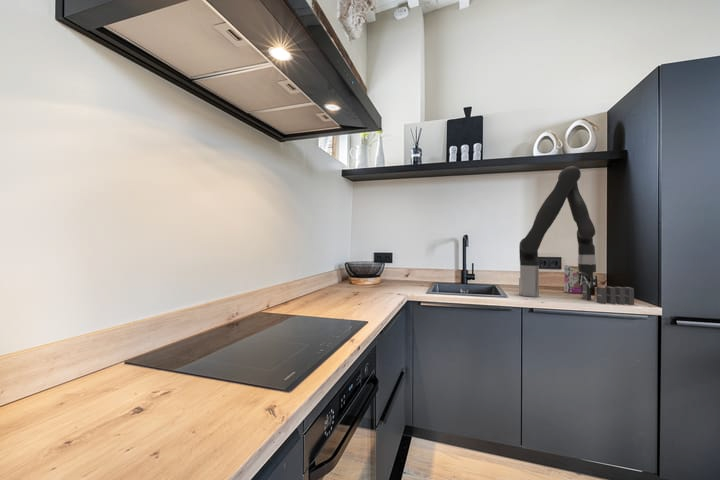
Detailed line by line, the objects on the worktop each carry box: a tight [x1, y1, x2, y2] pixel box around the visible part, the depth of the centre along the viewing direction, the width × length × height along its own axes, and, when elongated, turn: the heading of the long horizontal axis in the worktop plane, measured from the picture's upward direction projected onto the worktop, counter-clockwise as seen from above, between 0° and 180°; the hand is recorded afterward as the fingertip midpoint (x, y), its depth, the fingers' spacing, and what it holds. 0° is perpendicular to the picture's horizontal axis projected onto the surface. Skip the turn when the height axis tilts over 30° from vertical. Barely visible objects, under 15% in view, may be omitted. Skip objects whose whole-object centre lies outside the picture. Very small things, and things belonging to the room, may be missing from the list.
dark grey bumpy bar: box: [604, 285, 617, 305], centre depth 145 cm, size 2×4×8 cm, turn 166°
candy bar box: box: [563, 264, 583, 295], centre depth 174 cm, size 11×5×16 cm, turn 84°
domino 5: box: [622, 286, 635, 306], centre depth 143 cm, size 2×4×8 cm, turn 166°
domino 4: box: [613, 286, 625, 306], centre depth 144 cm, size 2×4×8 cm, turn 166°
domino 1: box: [582, 284, 592, 301], centre depth 155 cm, size 2×4×8 cm, turn 166°
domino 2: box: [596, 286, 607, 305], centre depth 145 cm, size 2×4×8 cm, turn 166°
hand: (587, 293), depth 155 cm, fingers open, 8 cm apart
